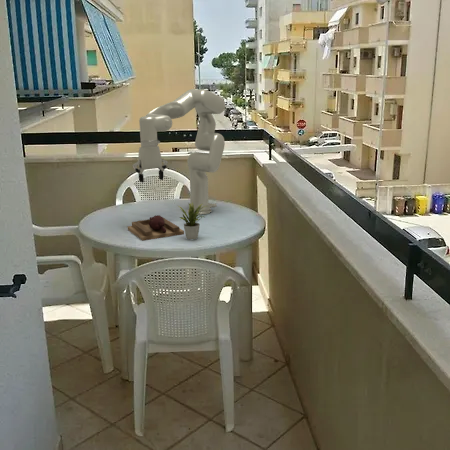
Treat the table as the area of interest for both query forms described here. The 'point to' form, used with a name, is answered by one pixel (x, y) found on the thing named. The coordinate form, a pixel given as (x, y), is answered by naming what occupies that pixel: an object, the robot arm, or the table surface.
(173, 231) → the cradle
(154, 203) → the table surface
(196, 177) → the robot arm
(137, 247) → the table surface
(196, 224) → the house plant
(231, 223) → the table surface
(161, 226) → the icecream
